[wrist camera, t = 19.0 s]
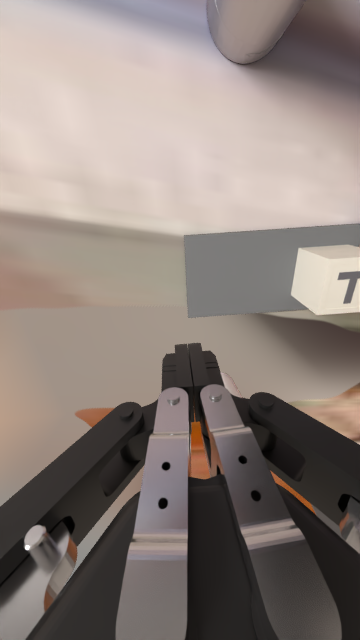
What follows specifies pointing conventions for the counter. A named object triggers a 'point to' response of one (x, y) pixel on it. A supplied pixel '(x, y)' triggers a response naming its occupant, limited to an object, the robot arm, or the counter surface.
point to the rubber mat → (252, 267)
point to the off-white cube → (328, 279)
